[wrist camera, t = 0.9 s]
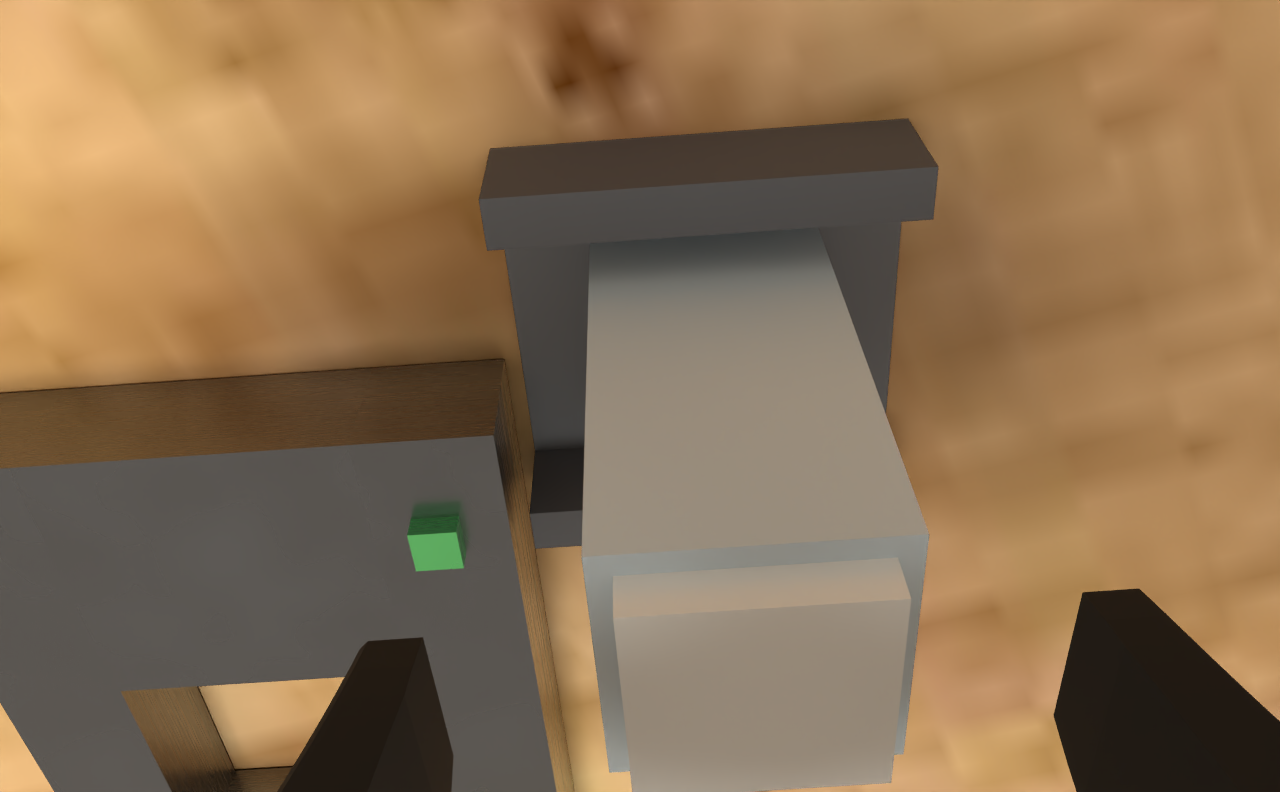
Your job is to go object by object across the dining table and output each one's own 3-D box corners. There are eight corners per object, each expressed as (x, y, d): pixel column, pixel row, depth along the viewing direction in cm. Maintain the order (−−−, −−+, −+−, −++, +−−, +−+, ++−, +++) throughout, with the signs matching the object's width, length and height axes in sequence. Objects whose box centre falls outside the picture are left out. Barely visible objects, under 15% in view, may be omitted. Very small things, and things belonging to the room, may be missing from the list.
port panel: (504, 359, 19) (491, 450, 17) (588, 880, 28) (587, 982, 26) (-67, 397, 19) (-151, 494, 17) (203, 903, 28) (170, 1007, 26)
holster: (905, 113, 17) (938, 166, 15) (878, 451, 20) (903, 524, 19) (491, 143, 17) (478, 199, 15) (541, 474, 21) (535, 548, 19)
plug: (814, 217, 17) (944, 575, 11) (809, 401, 19) (914, 797, 13) (590, 233, 17) (580, 598, 11) (608, 414, 19) (609, 816, 13)
